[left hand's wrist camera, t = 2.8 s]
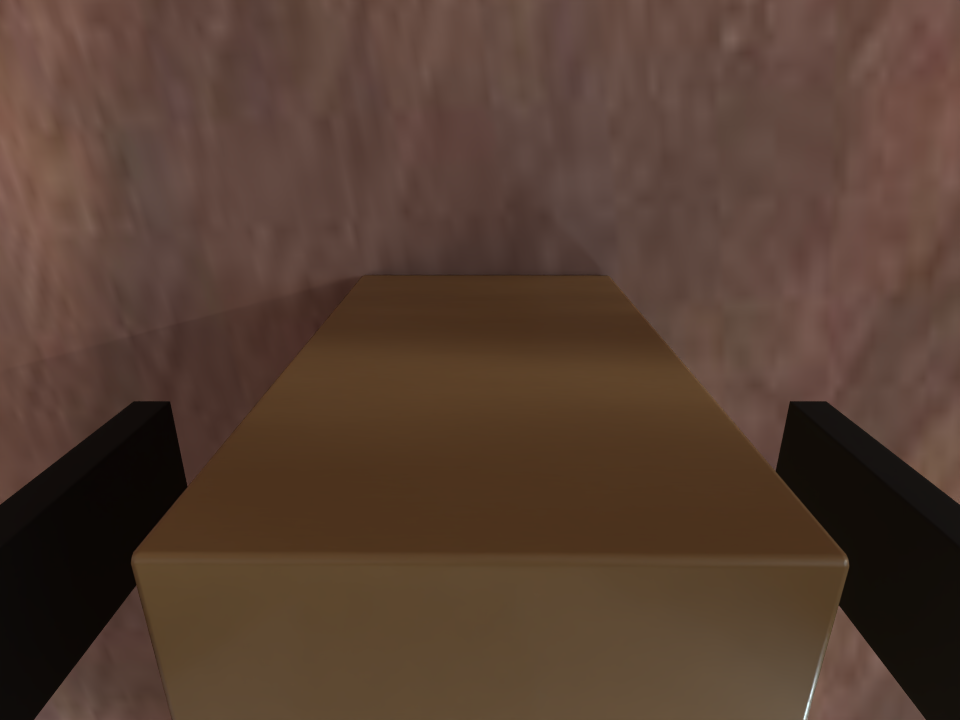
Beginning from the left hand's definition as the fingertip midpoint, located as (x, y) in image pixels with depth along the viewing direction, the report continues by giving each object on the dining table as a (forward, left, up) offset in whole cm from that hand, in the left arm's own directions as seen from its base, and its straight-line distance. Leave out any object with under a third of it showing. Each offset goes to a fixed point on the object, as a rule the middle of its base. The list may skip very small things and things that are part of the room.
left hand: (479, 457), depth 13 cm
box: (+8, +2, -3) cm, 9 cm away
